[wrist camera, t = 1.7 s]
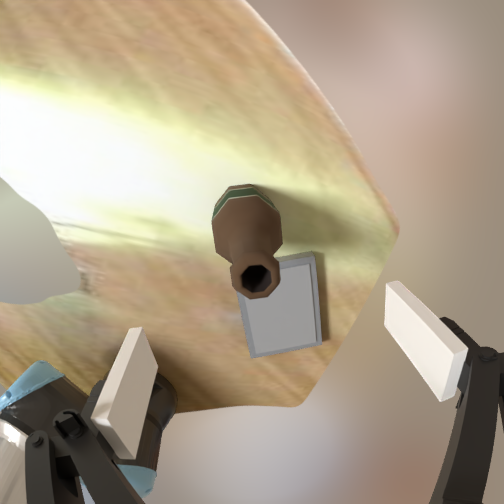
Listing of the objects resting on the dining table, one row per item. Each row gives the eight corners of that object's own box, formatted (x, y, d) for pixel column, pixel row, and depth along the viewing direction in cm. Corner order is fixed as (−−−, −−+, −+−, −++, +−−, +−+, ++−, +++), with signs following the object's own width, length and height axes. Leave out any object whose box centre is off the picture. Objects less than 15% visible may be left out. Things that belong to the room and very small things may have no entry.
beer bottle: (223, 175, 43) (215, 211, 20) (277, 190, 44) (327, 241, 22) (208, 228, 45) (190, 314, 23) (261, 241, 46) (291, 336, 24)
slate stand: (250, 351, 53) (251, 359, 51) (232, 265, 47) (232, 271, 45) (319, 337, 53) (322, 345, 51) (311, 251, 47) (315, 256, 45)
